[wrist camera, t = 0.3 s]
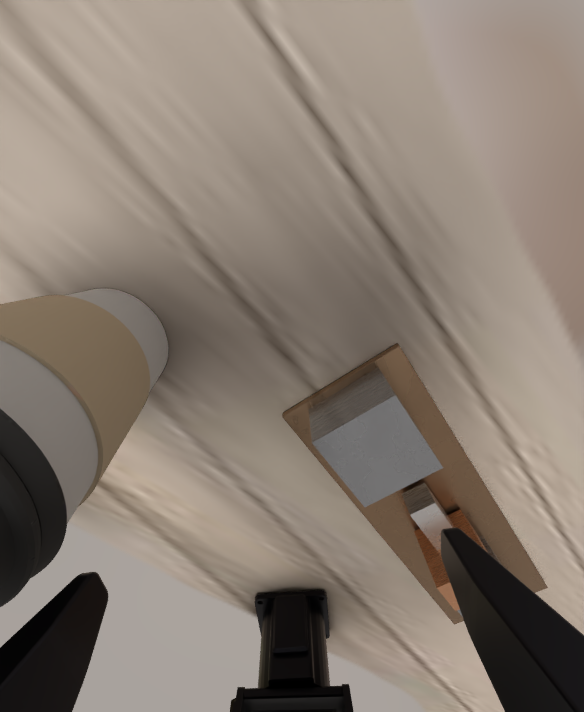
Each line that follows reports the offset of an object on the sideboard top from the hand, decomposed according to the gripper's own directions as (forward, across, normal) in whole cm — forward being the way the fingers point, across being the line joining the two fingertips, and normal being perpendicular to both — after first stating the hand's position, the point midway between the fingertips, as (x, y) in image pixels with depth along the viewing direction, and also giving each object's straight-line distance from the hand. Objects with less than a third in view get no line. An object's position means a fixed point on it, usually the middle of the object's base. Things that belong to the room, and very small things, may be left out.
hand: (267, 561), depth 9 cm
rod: (+13, -11, +19) cm, 26 cm away
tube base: (+14, -10, +15) cm, 23 cm away
